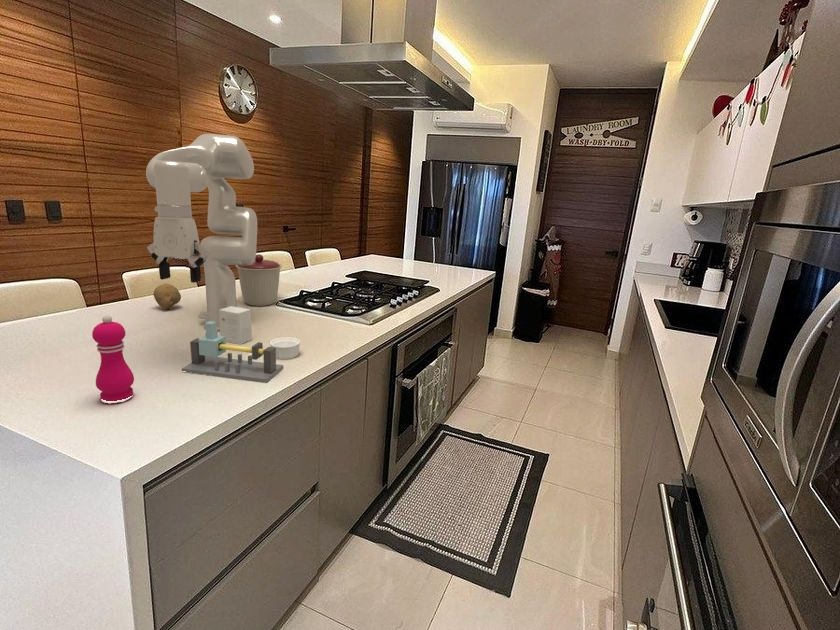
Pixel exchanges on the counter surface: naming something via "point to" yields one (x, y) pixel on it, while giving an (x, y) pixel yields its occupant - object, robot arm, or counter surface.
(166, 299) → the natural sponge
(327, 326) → the counter surface
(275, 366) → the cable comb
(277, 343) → the ramekin
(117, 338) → the pepper mill
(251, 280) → the canister
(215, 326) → the sleeve
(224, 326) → the small box
